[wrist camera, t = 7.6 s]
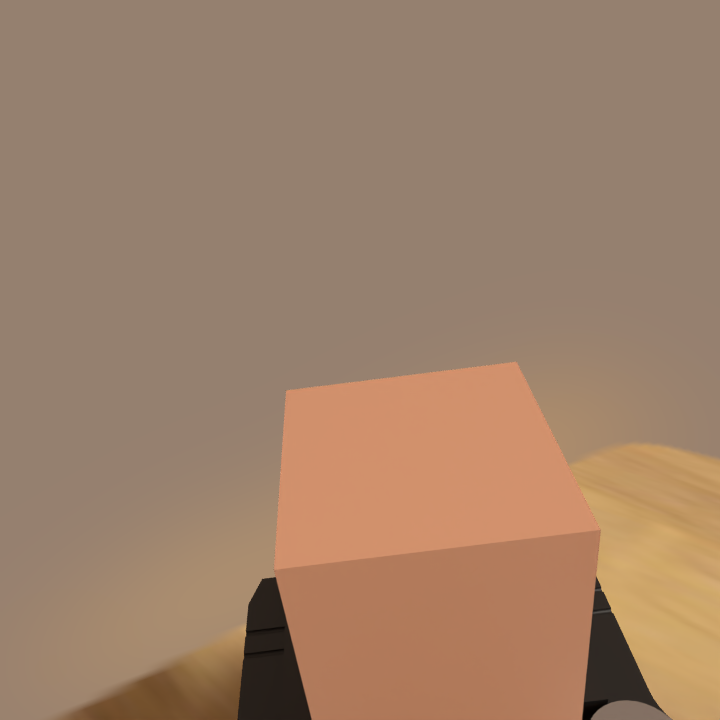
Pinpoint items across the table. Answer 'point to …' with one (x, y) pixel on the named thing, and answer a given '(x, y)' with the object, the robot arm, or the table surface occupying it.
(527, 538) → the lever
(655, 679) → the table surface
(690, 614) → the table surface
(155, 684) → the table surface
